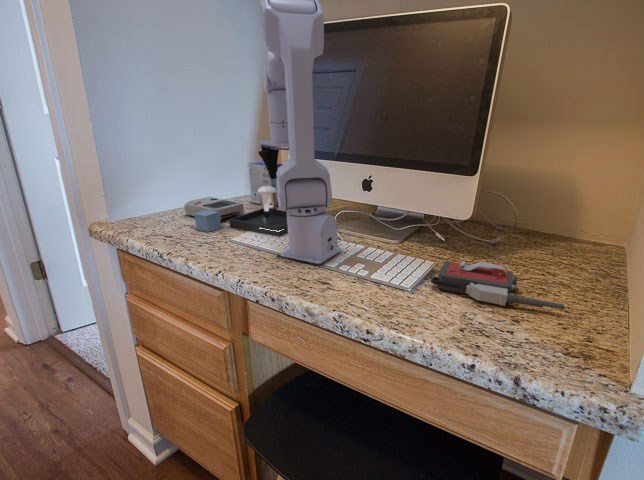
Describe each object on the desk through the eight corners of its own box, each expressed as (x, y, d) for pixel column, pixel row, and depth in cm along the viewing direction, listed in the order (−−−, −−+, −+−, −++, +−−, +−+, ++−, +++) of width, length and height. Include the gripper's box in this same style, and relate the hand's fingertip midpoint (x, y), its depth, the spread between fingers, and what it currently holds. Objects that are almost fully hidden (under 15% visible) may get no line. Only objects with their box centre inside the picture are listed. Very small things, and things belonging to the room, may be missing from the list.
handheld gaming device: (211, 208, 109) (209, 195, 107) (245, 216, 102) (243, 202, 100) (183, 215, 102) (180, 202, 101) (217, 224, 95) (214, 209, 93)
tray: (311, 221, 97) (310, 214, 97) (278, 236, 87) (278, 227, 86) (265, 214, 104) (264, 207, 103) (229, 226, 93) (228, 219, 92)
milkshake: (279, 225, 93) (276, 184, 89) (258, 224, 93) (254, 184, 89) (284, 220, 97) (281, 181, 93) (264, 219, 97) (259, 180, 93)
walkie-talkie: (426, 293, 60) (563, 319, 53) (428, 268, 59) (569, 292, 52) (438, 273, 68) (559, 293, 61) (440, 250, 66) (565, 268, 59)
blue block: (221, 227, 92) (219, 211, 90) (208, 232, 89) (205, 215, 87) (209, 225, 94) (207, 209, 92) (196, 229, 90) (193, 213, 89)
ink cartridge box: (287, 204, 115) (283, 155, 109) (273, 207, 111) (269, 157, 105) (264, 199, 120) (260, 152, 114) (251, 203, 115) (245, 154, 110)
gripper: (316, 123, 90) (318, 179, 95) (268, 121, 96) (273, 175, 101) (299, 124, 84) (302, 184, 90) (249, 122, 90) (255, 179, 95)
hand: (286, 179), depth 95 cm, fingers open, 7 cm apart
